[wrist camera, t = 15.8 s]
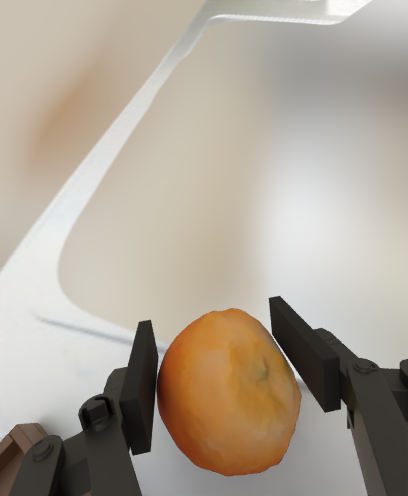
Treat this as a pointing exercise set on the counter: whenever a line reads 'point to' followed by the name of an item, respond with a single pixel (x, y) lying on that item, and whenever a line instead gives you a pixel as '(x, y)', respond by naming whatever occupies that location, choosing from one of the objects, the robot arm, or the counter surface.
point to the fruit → (228, 394)
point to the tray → (17, 452)
